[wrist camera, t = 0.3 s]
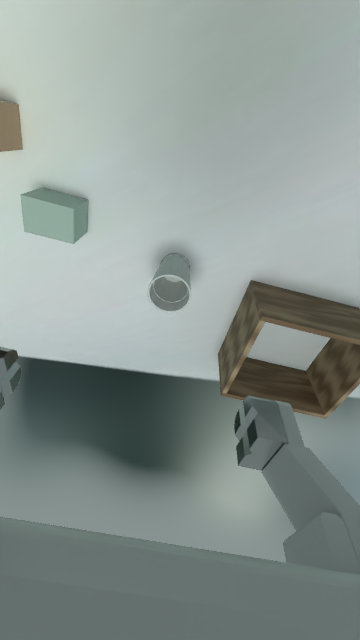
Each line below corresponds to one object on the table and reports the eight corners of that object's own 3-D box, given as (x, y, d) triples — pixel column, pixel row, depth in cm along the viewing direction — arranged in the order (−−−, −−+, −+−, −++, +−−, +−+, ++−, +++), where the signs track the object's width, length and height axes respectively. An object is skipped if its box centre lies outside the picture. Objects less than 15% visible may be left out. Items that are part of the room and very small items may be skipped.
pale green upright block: (41, 187, 51) (20, 194, 45) (88, 200, 52) (73, 208, 46) (43, 220, 55) (24, 231, 49) (87, 232, 55) (73, 244, 50)
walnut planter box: (251, 280, 59) (262, 316, 48) (358, 307, 61) (393, 348, 50) (218, 353, 72) (220, 395, 61) (307, 374, 74) (325, 418, 63)
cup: (164, 287, 62) (157, 316, 52) (151, 256, 57) (140, 281, 48) (197, 278, 60) (196, 306, 50) (186, 244, 55) (182, 269, 46)
